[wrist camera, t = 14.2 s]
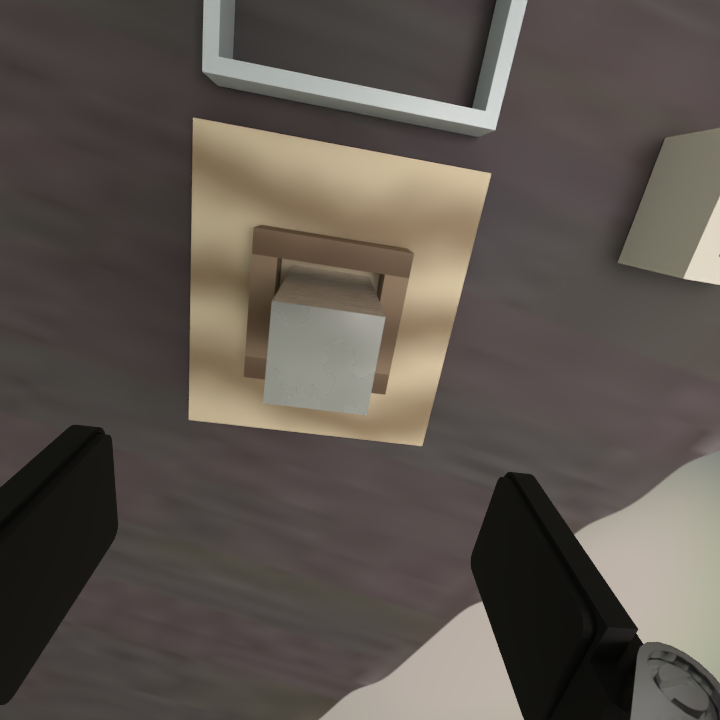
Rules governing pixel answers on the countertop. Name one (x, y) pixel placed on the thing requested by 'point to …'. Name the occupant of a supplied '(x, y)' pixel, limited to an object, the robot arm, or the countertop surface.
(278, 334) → the block
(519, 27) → the tote tray
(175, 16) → the countertop surface
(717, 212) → the button post
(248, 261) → the plate
